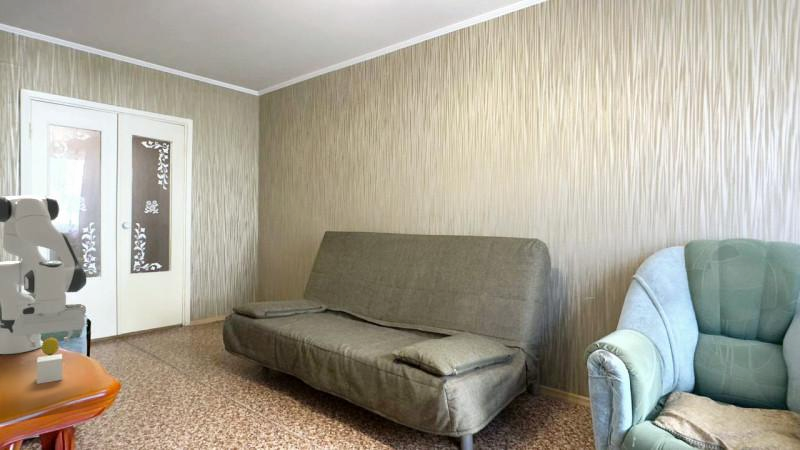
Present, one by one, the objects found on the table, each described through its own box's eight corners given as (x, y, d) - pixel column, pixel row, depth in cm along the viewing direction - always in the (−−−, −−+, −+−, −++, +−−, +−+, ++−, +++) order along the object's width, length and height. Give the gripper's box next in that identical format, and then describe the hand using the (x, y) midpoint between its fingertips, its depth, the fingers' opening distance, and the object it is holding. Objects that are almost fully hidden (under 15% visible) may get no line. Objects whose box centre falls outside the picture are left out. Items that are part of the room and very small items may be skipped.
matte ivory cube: (37, 378, 158) (37, 357, 158) (61, 374, 163) (62, 353, 163) (36, 383, 153) (37, 362, 153) (62, 379, 157) (62, 358, 157)
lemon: (44, 358, 180) (44, 339, 180) (40, 356, 184) (40, 337, 184) (60, 355, 185) (60, 336, 185) (56, 353, 188) (56, 334, 188)
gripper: (85, 301, 166) (85, 338, 167) (13, 307, 154) (13, 346, 154) (86, 304, 161) (86, 342, 162) (12, 310, 149) (12, 351, 149)
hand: (50, 344), depth 158 cm, fingers open, 8 cm apart
